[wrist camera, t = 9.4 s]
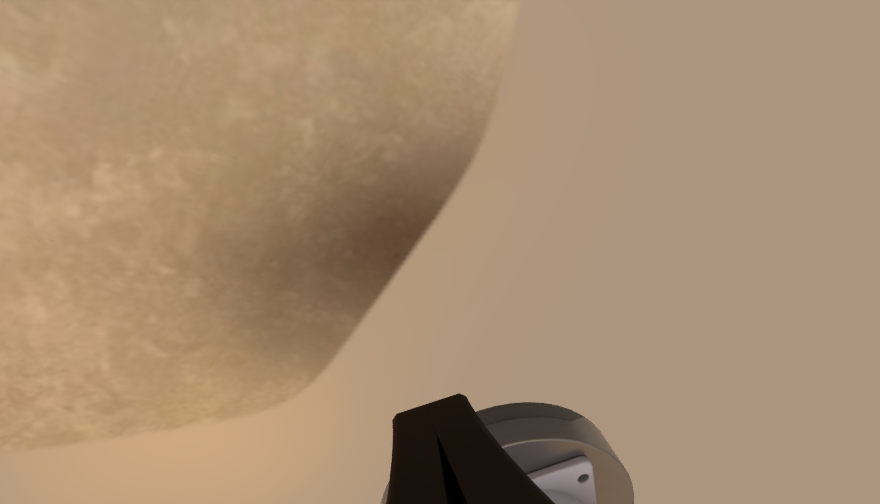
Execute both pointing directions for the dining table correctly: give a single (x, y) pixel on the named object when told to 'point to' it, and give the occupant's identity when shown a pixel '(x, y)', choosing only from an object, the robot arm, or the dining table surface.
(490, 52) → the dining table surface
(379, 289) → the dining table surface
